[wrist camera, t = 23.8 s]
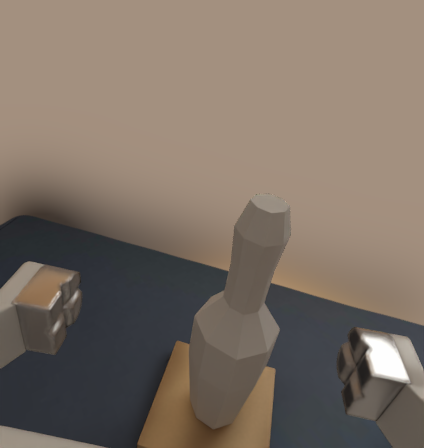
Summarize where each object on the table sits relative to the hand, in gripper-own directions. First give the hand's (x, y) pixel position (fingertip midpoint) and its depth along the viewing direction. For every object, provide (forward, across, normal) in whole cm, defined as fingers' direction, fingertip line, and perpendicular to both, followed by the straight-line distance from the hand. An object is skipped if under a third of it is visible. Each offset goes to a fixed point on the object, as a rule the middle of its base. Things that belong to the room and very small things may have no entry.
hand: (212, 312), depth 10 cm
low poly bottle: (+11, -3, +24) cm, 27 cm away
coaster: (+11, -3, +26) cm, 28 cm away
